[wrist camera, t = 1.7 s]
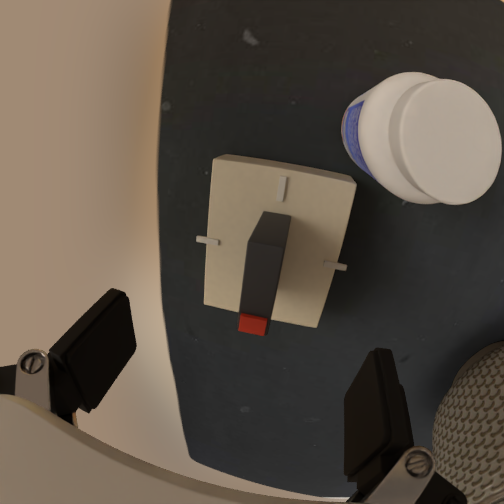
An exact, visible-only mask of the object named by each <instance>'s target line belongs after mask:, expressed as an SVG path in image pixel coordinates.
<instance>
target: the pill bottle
mask: <svg viewBox="0 0 504 504" xmlns="http://www.w3.org/2000/svg"><path fill="white" fill-rule="evenodd" d="M341 133H342V139H343V143H344V146H345V148H346V150H347V152H348V154H349V156H350V157H351V159H352V160H353V161H354V162H355V163H356V164H357V165H358V166H359V167H360V168H361V169H362V170H364V171H365V172H366V173H367V174H369V175H370V176H371V177H373V178H374V179H375V180H376V181H377V182H379V183H380V184H381V185H382V186H383V187H385V188H386V189H387V190H389V191H390V192H391V193H393V194H394V195H396V196H398V197H399V198H401V199H404V200H406V201H409V202H413V203H417V204H434V203H439V202H442V203H446V204H451V205H461V204H466V203H470V202H472V201H474V200H476V199H477V198H479V197H481V196H482V195H483V194H484V193H485V192H486V191H487V190H488V189H489V188H490V186H491V185H492V183H493V182H494V180H495V178H496V176H497V173H498V170H499V167H500V163H501V153H502V145H501V144H502V143H501V136H500V132H499V127H498V125H497V122H496V119H495V117H494V115H493V113H492V111H491V109H490V108H489V106H488V105H487V103H486V102H485V101H484V100H483V98H482V97H481V96H480V95H479V94H478V93H476V92H475V91H474V90H473V89H471V88H470V87H468V86H466V85H465V84H463V83H460V82H457V81H454V80H449V79H439V78H436V77H434V76H431V75H429V74H424V73H419V72H406V73H400V74H397V75H394V76H391V77H389V78H387V79H385V80H384V81H382V82H381V83H379V84H378V85H376V86H375V87H373V88H372V89H370V90H368V91H367V92H365V93H364V94H362V95H360V96H359V97H358V98H356V99H355V100H354V101H353V102H352V103H351V104H350V105H349V106H348V108H347V110H346V111H345V114H344V116H343V120H342V126H341Z"/></svg>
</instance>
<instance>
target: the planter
mask: <svg viewBox="0 0 504 504" xmlns="http://www.w3.org/2000/svg"><path fill="white" fill-rule="evenodd" d="M432 440H433V454H434V456H435V459H436V470H435V471H436V472H437V473H438V474H440V475H441V476H442V477H443V478H445V479H446V480H447V481H449V482H450V483H451V484H452V485H454V486H455V487H456V488H458V489H459V490H460V491H462V492H463V493H464V494H465V496H466V498H467V504H504V341H499V342H495V343H493V344H490V345H488V346H486V347H485V348H483V349H481V350H480V351H478V352H477V353H476V354H475V355H473V356H472V357H471V358H470V359H469V360H468V361H467V362H466V363H465V364H464V365H463V366H462V367H461V368H460V370H459V371H458V373H457V374H456V376H455V378H454V381H453V384H452V386H451V388H450V389H449V390H448V392H447V393H446V395H445V396H444V398H443V399H442V401H441V403H440V405H439V407H438V410H437V412H436V415H435V419H434V424H433V439H432Z"/></svg>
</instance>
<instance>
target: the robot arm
mask: <svg viewBox="0 0 504 504" xmlns="http://www.w3.org/2000/svg"><path fill="white" fill-rule="evenodd" d="M136 346H137V345H136V339H135V333H134V328H133V322H132V316H131V309H130V302H129V298H128V297H127V296H126V293H125V292H123V291H120V290H117V289H114V288H111V289H110V290H108V291H107V293H106V294H104V295H103V296H102V297H101V298H100V299H99V300H98V301H97V302H96V303H95V304H94V305H93V306H92V307H91V308H90V309H89V310H88V311H87V312H86V313H85V314H84V315H83V316H82V317H81V318H80V319H79V320H78V321H77V322H76V323H75V324H74V325H73V326H72V327H71V328H70V329H69V330H68V331H67V332H66V333H65V334H64V335H63V336H62V337H61V338H60V339H59V340H58V341H57V342H56V343H55V344H54V345H53V346H52V347H51V348H50V350H49V351H50V352H49V353H48V354H46V353H45V352H44V351H43V350H39V349H31V350H28V351H26V352H24V353H23V354H22V355H21V356H20V358H19V360H18V362H17V364H16V365H10V366H4V367H0V504H467V498H466V496H465V494H464V493H463V492H462V491H460V490H459V489H458V488H456V487H455V486H454V485H452V484H451V483H450V482H449V481H447V480H446V479H445V478H443V477H442V476H441V475H440V474H438V473H437V472H436V471H435V470H436V459H435V456H434V454H433V453H432V452H431V451H430V450H429V449H428V448H426V447H424V446H414V442H413V435H412V429H411V423H410V418H409V412H408V407H407V402H406V397H405V392H404V389H403V386H402V385H401V384H399V380H398V375H397V371H396V367H395V362H394V358H393V354H392V351H391V350H390V349H383V348H375V350H374V351H370V352H369V354H368V355H367V357H366V359H365V361H364V363H363V365H362V367H361V368H360V370H359V372H358V374H357V376H356V377H355V379H354V381H353V383H352V384H351V386H350V388H349V389H348V391H347V393H346V395H345V398H344V475H347V476H348V481H347V482H357V489H358V490H357V491H356V492H355V493H354V494H353V495H352V496H351V497H350V498H349V499H348V500H347V501H346V502H323V501H309V500H298V499H288V498H280V497H273V496H266V495H260V494H254V493H249V492H243V491H239V490H234V489H230V488H226V487H221V486H217V485H214V484H210V483H206V482H202V481H198V480H196V479H192V478H189V477H186V476H183V475H180V474H177V473H174V472H171V471H168V470H166V469H163V468H160V467H157V466H155V465H152V464H150V463H147V462H145V461H142V460H140V459H138V458H135V457H133V456H131V455H129V454H126V453H124V452H122V451H120V450H118V449H116V448H114V447H112V446H109V445H107V444H106V443H103V442H102V441H100V440H98V439H96V438H94V437H92V436H91V435H89V434H87V433H85V432H83V431H81V430H80V429H78V425H77V419H76V410H77V409H78V408H80V409H82V410H83V411H85V412H87V413H90V411H91V409H95V408H96V407H97V406H98V405H99V403H100V402H101V400H102V399H103V397H104V396H105V394H106V393H107V391H108V390H109V388H110V387H111V386H112V384H113V383H114V381H115V379H116V378H117V377H118V375H119V374H120V372H121V371H122V370H123V368H124V367H125V365H126V364H127V362H128V361H129V359H130V358H131V357H132V355H133V354H134V352H135V350H136Z"/></svg>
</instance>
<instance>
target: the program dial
mask: <svg viewBox="0 0 504 504" xmlns="http://www.w3.org/2000/svg"><path fill="white" fill-rule="evenodd" d="M290 222H291V216H289V215H284V214H278V213H273V212H268V211H263V213H262V215H261V217H260V219H259V221H258V223H257V225H256V227H255V228H254V230H253V232H252V234H251V236H250V238H249V240H248V242H247V250H246V257H245V265H244V273H243V281H242V289H241V297H240V305H239V314H238V322H237V329H238V330H239V331H243V332H247V333H252V334H256V335H261V336H264V335H265V336H266V335H267V334H268V330H269V325H270V321H271V317H272V312H273V307H274V303H275V298H276V294H277V289H278V284H279V279H280V274H281V269H282V264H283V259H284V254H285V249H286V243H287V238H288V233H289V227H290Z"/></svg>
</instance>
